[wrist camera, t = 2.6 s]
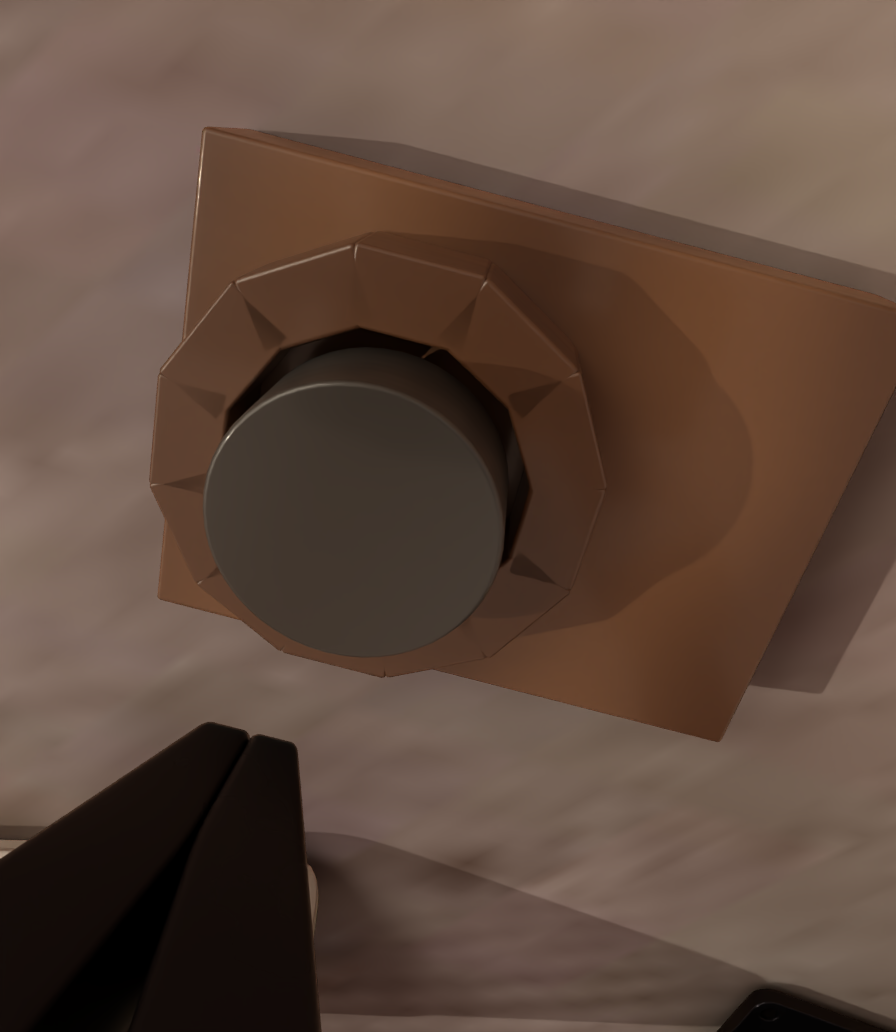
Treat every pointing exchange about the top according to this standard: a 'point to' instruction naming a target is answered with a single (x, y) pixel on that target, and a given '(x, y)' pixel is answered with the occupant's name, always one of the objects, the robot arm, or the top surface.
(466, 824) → the top surface
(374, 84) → the top surface
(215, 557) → the button
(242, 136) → the button box
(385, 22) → the top surface
